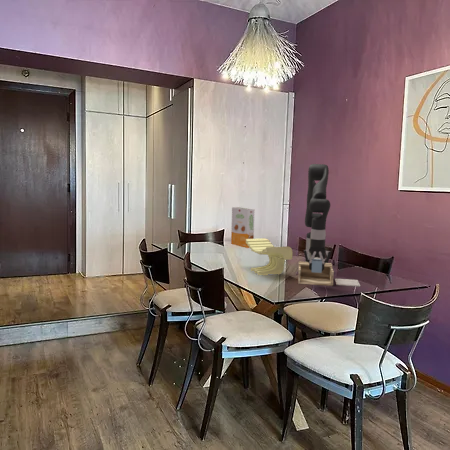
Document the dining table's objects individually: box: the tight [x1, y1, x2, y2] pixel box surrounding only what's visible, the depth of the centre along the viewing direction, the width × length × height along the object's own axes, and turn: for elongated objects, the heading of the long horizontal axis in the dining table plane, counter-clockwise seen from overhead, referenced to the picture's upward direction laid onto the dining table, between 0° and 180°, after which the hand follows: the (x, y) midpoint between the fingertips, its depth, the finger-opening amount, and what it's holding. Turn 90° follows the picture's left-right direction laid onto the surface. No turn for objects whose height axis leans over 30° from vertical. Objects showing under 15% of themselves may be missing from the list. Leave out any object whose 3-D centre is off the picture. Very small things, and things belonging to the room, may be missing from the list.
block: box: [311, 259, 322, 273], centre depth 218 cm, size 5×5×6 cm
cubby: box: [297, 261, 335, 287], centre depth 230 cm, size 18×18×8 cm
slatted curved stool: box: [246, 237, 293, 276], centre depth 247 cm, size 30×16×18 cm, turn 19°
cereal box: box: [230, 206, 255, 249], centre depth 338 cm, size 22×6×30 cm, turn 32°
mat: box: [334, 278, 361, 287], centre depth 227 cm, size 12×12×1 cm
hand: (316, 270), depth 218 cm, fingers closed on block, 5 cm apart
